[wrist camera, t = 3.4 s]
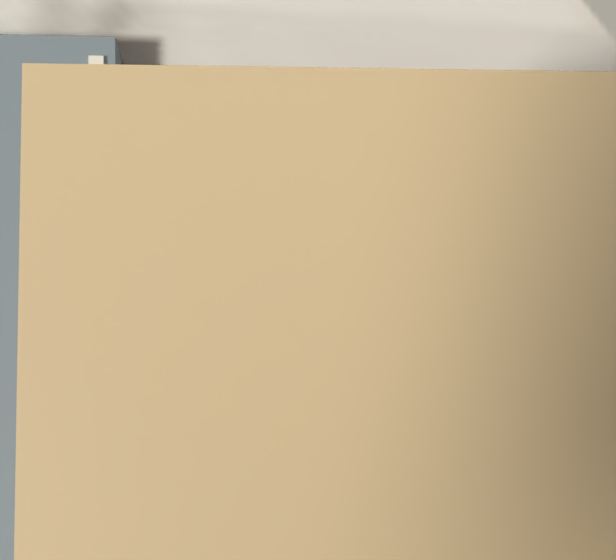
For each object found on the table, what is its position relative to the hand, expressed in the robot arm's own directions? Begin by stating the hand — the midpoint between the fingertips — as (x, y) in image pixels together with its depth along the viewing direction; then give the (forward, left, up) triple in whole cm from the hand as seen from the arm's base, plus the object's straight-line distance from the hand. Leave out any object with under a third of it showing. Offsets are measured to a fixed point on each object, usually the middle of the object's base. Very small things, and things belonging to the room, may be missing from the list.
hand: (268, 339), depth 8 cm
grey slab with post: (-1, 0, -8) cm, 8 cm away
